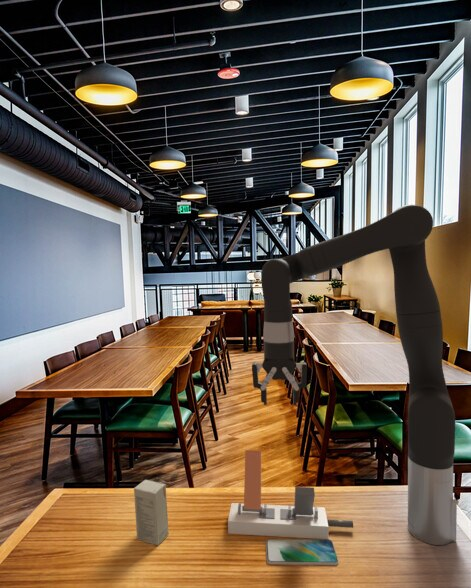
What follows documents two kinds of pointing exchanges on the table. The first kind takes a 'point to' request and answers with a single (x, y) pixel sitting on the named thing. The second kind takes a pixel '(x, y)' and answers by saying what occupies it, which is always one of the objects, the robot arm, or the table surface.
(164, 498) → the skincare box
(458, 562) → the table surface
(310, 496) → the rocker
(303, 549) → the smartphone
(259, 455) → the bar
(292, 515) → the power strip
